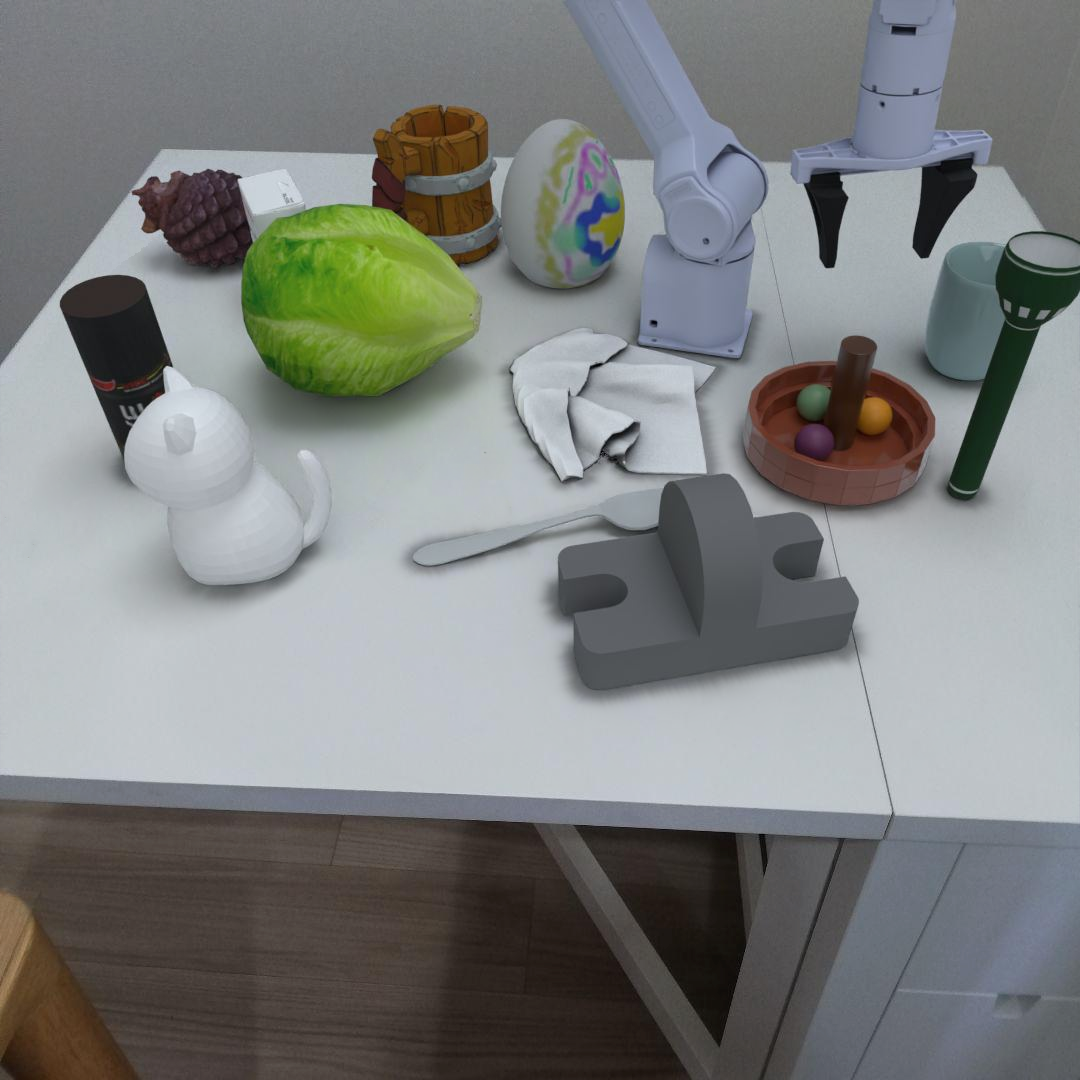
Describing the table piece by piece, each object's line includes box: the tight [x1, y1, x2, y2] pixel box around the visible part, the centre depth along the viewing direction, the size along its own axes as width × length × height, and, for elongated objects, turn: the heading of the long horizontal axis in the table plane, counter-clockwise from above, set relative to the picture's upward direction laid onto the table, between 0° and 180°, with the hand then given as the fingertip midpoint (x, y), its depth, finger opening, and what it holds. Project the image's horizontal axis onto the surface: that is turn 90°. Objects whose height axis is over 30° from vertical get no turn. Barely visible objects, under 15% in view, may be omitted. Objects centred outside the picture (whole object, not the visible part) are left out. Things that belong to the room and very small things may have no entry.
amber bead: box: [857, 397, 892, 435], centre depth 78 cm, size 3×3×3 cm
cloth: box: [508, 327, 717, 482], centre depth 82 cm, size 20×22×2 cm
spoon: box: [412, 487, 664, 566], centre depth 72 cm, size 4×21×2 cm, turn 104°
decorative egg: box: [500, 118, 626, 289], centre depth 95 cm, size 12×12×15 cm
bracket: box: [557, 472, 860, 691], centre depth 63 cm, size 10×18×11 cm, turn 101°
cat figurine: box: [123, 366, 333, 586], centre depth 66 cm, size 9×12×15 cm
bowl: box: [742, 360, 936, 506], centre depth 77 cm, size 14×14×4 cm
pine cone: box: [131, 168, 253, 268], centre depth 102 cm, size 18×10×10 cm
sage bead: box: [796, 384, 830, 421], centre depth 80 cm, size 3×3×3 cm
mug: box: [371, 104, 502, 266], centre depth 99 cm, size 11×16×15 cm, turn 148°
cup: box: [924, 241, 1007, 382], centre depth 83 cm, size 8×8×10 cm
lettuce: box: [240, 203, 483, 398], centre depth 82 cm, size 17×20×15 cm
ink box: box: [238, 168, 307, 243], centre depth 93 cm, size 8×5×12 cm, turn 23°
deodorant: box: [59, 274, 175, 463], centre depth 75 cm, size 6×6×15 cm
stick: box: [823, 334, 878, 451], centre depth 75 cm, size 3×3×9 cm
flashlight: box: [947, 230, 1080, 501], centre depth 68 cm, size 5×5×20 cm
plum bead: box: [794, 424, 834, 461], centre depth 76 cm, size 3×3×3 cm
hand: (873, 257), depth 80 cm, fingers open, 7 cm apart
